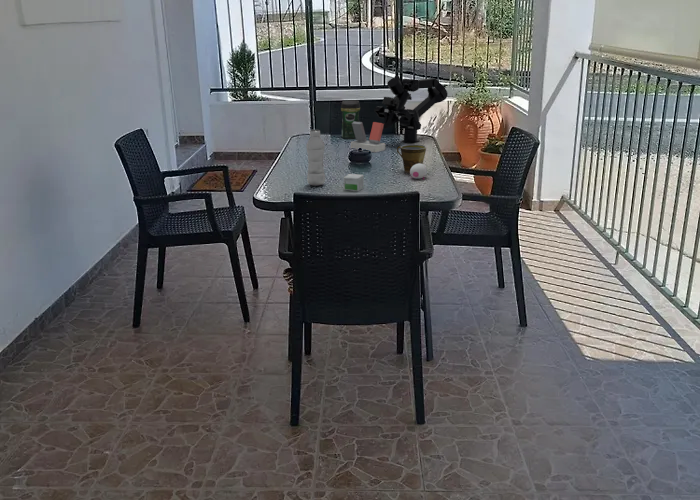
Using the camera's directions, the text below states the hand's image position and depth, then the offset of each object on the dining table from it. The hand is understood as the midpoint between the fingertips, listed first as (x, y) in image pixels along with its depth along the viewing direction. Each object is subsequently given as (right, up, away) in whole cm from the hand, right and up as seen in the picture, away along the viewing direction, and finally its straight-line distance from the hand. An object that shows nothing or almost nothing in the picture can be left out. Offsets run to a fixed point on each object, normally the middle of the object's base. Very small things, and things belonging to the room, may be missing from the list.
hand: (384, 128), depth 297 cm
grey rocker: (-11, -5, +2) cm, 12 cm away
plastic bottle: (-28, -33, -60) cm, 74 cm away
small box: (-14, -34, -66) cm, 76 cm away
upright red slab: (-5, -7, -3) cm, 9 cm away
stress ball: (+10, -29, -52) cm, 61 cm away
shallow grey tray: (-8, -10, +1) cm, 12 cm away
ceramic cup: (+8, -25, -42) cm, 49 cm away
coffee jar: (-15, 0, +29) cm, 33 cm away
